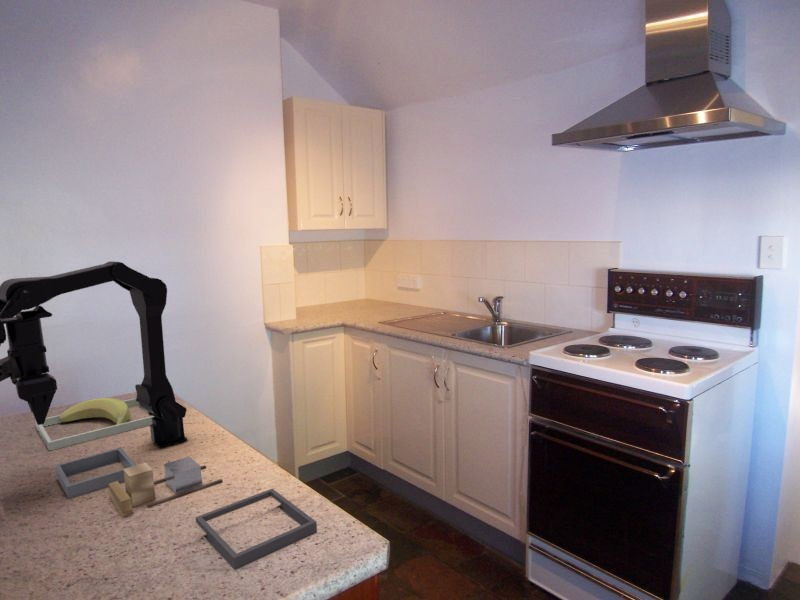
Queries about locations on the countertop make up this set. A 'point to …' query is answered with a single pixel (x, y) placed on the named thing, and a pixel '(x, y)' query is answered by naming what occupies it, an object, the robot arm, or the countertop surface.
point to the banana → (98, 410)
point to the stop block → (139, 483)
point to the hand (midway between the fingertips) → (37, 417)
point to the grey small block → (183, 474)
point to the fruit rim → (91, 434)
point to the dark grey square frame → (265, 547)
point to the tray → (91, 464)
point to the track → (125, 506)
